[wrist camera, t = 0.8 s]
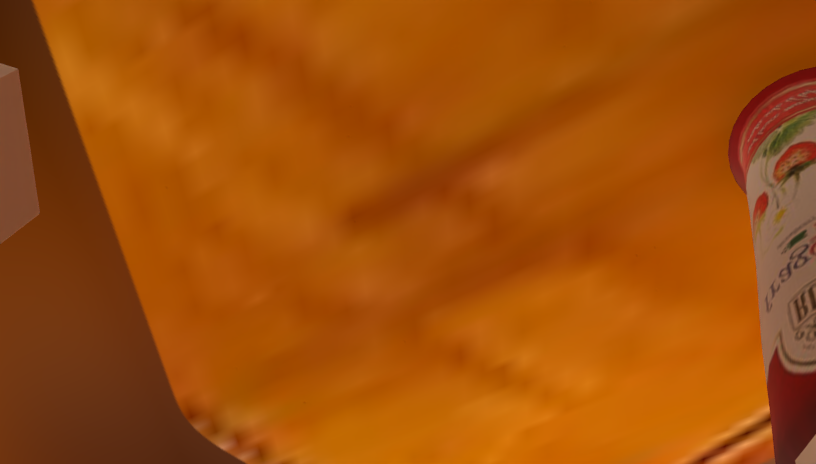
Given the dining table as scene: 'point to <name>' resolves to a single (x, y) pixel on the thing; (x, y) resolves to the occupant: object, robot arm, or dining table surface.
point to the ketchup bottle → (783, 246)
